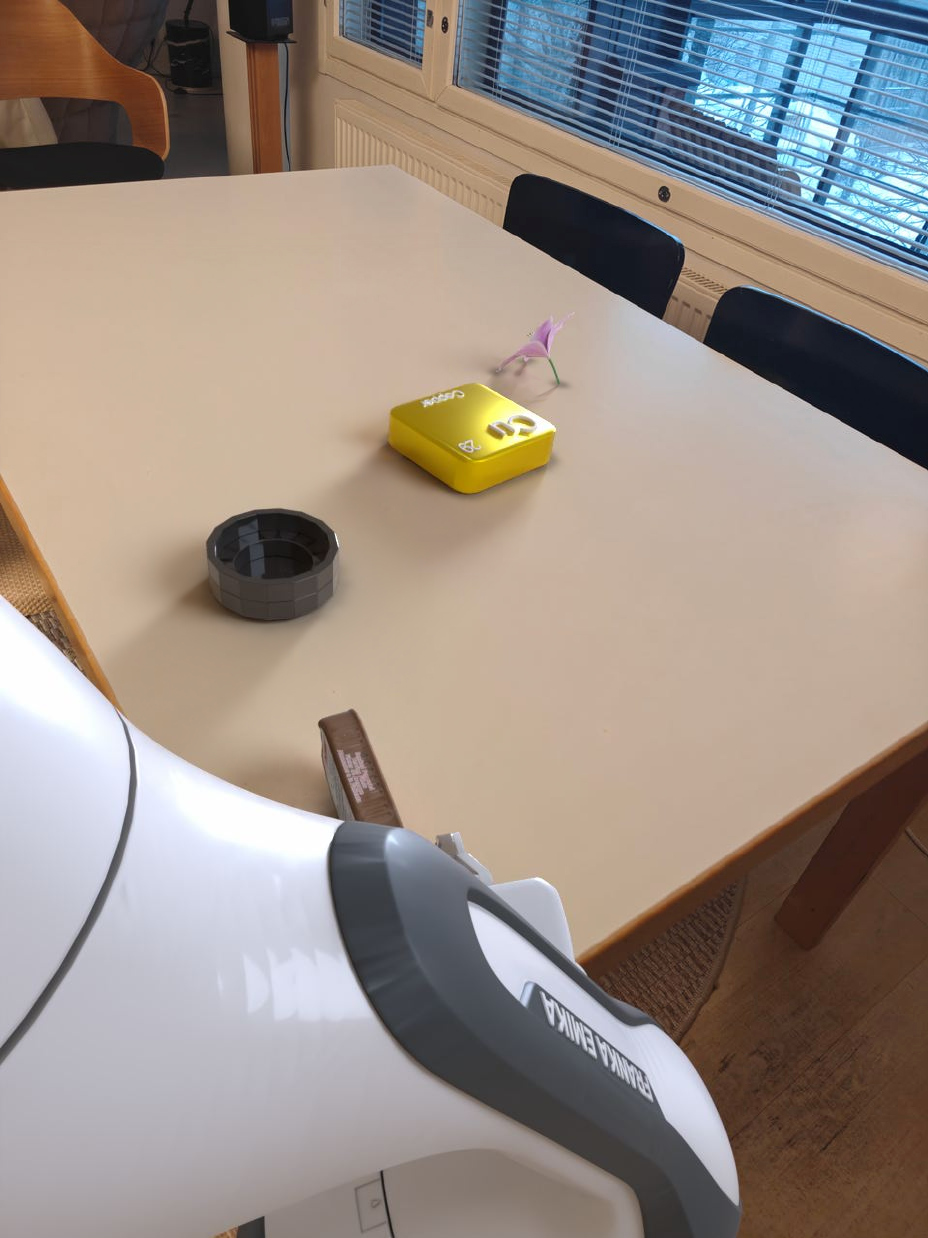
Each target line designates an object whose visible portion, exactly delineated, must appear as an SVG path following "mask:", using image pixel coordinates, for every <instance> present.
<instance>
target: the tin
mask: <svg viewBox="0 0 928 1238" xmlns="http://www.w3.org/2000/svg"><path fill="white" fill-rule="evenodd" d="M317 727H318V728H319V733H320V741H321V742H320V743H321V750H320V751H321V753H320V754H321V755H320V757H321V762H322V768H323V770H324V774H325V779H326V783H327V787H328V790H329V794H330V797H331V800H332V804H333V807H334V810H335V812H336V813H335V814H336V815H337V819H338V820H342V821H350V820H355V821H362V822H368V823H374V824H380V825H386V826H393V827H399V828H405V827H404V823H403V821H402V818H401V816H400V813H399V811H398V808H397V805H396V803H395V800H394V798H393V796H392V793H391V791H390V787H389V785H388V782H387V779H386V778H385V775H384V773H383V771H382V768H381V766H380V763H379V760H378V758H377V756H376V753H375V750H374V748H373V746H372V745H373V744H372V743H371V740H370V739H369V735H368V733H367V730H366V728H365V725H364V723H363V721H362V719H361V717H360V715H359V713H358V712H357V710H356V709H354V708H349V709H348V710H347V711H343V712H340V713H335V714H331V715H328V716H326V717H323V718H321V719H319V720H318V722H317Z"/></svg>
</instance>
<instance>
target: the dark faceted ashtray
mask: <svg viewBox="0 0 928 1238" xmlns="http://www.w3.org/2000/svg"><path fill="white" fill-rule="evenodd" d="M335 532H336V531H334V530H333V529H332V528H331V527H330V526H329V525H328V524H327V523H326V522H325V521H323V520H322V519H320V518H318V517H315V516H314V515H311V514H309V513H306V512H303V511H300V510H294V509H287V508H282V507H275V508H258V509H252V510H249V511H245V512H242V513H238V514H234V515H232V516H230V517H228V518H227V519H226V520H224V521H222V522H221V523H219V524H218V525H217V526H215V527H214V528H213V530H212V531H211V533H210V534H209V536H208V538H207V539H206V541H205V549H206V560H207V562H206V563H207V569H208V578H209V586H210V587H209V588H210V592H211V593H212V595H213V596H214V597H215V598H216V599H217V601H218V602H219V603H220V605H221V606H223V607H224V608H226V609H228V610H230V611H232V612H234V613H236V614H238V615H240V616H242V617H245V618H246V617H247V618H252V619H258V620H264V621H275V620H286V619H294V618H298V617H301V616H304V615H306V614H308V613H311V612H314V611H316V610H318V609H319V608H320V607H322V606H324V604H325V603H327V602H328V601H329V600H330V599H331V598H332V597H334V594H335V592H336V589H337V588H338V587H337V586H338V584H339V579H340V576H339V575H340V546H339V542H338V539H337V535H336V533H335Z"/></svg>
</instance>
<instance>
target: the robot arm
mask: <svg viewBox="0 0 928 1238" xmlns="http://www.w3.org/2000/svg"><path fill="white" fill-rule="evenodd" d="M702 1079H703V1078H701V1076H700V1074H699V1072H698V1071H697V1070H696V1068H695V1066H694V1065H693V1064H692V1061H690V1059H689V1058H688V1056H687V1055H686V1053H684V1052H683V1050H682V1048H680V1047H679V1045H677V1044H676V1043H675V1041H674V1040H673V1039H672V1038H671V1037H670V1036H669V1035H668V1034H667V1033H666V1032H665V1031H664V1029H663V1028H662V1026H661V1025H660V1024H659V1022H657V1020H655V1018H654V1017H652V1016H651V1015H649V1014H647V1013H646V1012H644V1011H642V1010H640V1009H639V1008H636V1007H635V1006H632V1005H631V1004H629V1003H626V1002H625V1001H621V1000H619V999H617V998H614V997H613V996H610V995H609V993H607V992H605V990H603V988H601V987H600V986H599V985H598V984H597V983H596V982H595V981H593V980H592V979H591V978H590V977H589V976H588V975H587V972H586V971H585V969H584V968H583V967H582V966H581V965H580V964H579V963H578V962H576V960H575V952H574V947H573V941H572V937H571V932H570V927H569V924H568V920H567V917H566V914H565V909H564V906H563V903H562V900H561V897H560V894H559V892H558V890H557V889H556V887H555V886H553V885H552V884H550V883H549V882H548V881H546V880H545V879H543V878H541V877H538V876H536V877H529V878H524V879H518V880H512V881H508V882H502V883H499V884H498V883H497V884H495V882H494V878H493V876H492V873H491V871H490V870H489V869H488V868H487V867H485V866H484V864H482V863H481V862H480V861H479V860H477V859H476V858H475V857H474V856H473V855H471V854H470V853H469V852H466V850H465V846H464V843H463V839H462V837H461V834H460V832H459V831H455V832H448V833H442V834H437V835H436V836H435V842H434V843H433V842H432V841H430V840H429V839H427V838H425V837H424V836H422V835H420V834H419V833H417V832H415V831H413V830H411V829H408V828H405V827H404V828H399V827H393V826H386V825H380V824H374V823H368V822H362V821H355V820H350V821H342V820H339V819H338V818H335V817H332V816H331V817H330V816H328V815H323V814H319V813H315V812H312V811H308V810H304V809H300V808H297V807H293V806H291V805H287V804H284V803H281V802H279V801H276V800H273V799H270V798H267V797H265V796H262V795H259V794H256V793H254V792H251V791H250V790H247V789H244V788H242V787H240V786H237V785H235V784H233V783H230V782H228V781H227V780H224V779H222V778H220V777H218V776H216V775H214V774H212V773H210V772H207V771H206V770H204V769H201V768H199V767H198V766H196V765H194V764H192V763H191V762H189V761H187V760H186V759H184V758H182V757H180V756H178V755H176V754H175V753H173V752H171V751H170V750H168V749H167V748H165V747H164V746H162V745H161V744H160V743H158V742H156V741H155V740H153V739H152V738H151V737H149V736H148V735H147V734H145V733H144V732H143V731H141V730H140V729H139V728H138V727H137V726H135V725H134V724H133V723H132V722H131V721H129V719H128V718H126V717H125V715H123V713H122V712H121V711H120V710H118V708H117V707H116V706H115V705H114V704H113V703H112V702H111V701H110V700H109V699H108V698H106V696H105V695H104V694H103V693H102V692H101V691H100V690H99V689H98V688H97V687H96V686H95V685H94V683H92V682H91V681H90V680H89V678H87V676H85V674H83V672H82V671H81V670H80V669H78V668H77V666H76V665H75V664H73V662H72V661H71V660H70V659H69V658H68V657H67V656H66V655H65V654H64V653H63V652H62V651H61V650H60V649H59V648H58V647H57V646H56V645H55V644H54V643H53V642H52V641H51V640H50V639H49V638H48V637H47V636H46V635H45V634H44V633H43V632H42V631H41V630H40V629H38V627H37V626H35V625H34V624H33V623H32V622H31V621H30V620H29V619H28V618H27V617H25V615H24V614H22V613H21V612H20V611H19V610H18V609H17V608H16V607H15V606H14V605H12V603H10V601H9V600H7V599H6V598H5V597H4V596H3V595H2V594H0V1238H213V1237H216V1236H219V1235H221V1234H223V1233H226V1232H228V1231H230V1230H233V1229H235V1228H237V1230H236V1236H235V1237H236V1238H737V1237H738V1234H739V1230H740V1226H741V1222H742V1218H743V1213H744V1210H743V1208H744V1207H743V1202H742V1199H741V1195H740V1186H739V1179H738V1177H739V1176H738V1173H737V1172H738V1171H737V1166H736V1161H735V1157H734V1153H733V1150H732V1147H731V1144H730V1139H729V1137H728V1134H727V1131H726V1129H725V1126H724V1124H723V1123H724V1122H723V1121H722V1117H721V1116H720V1113H719V1112H718V1109H717V1106H716V1104H715V1103H714V1100H713V1098H712V1096H711V1093H710V1092H709V1090H708V1088H707V1087H706V1084H705V1083H704V1081H703V1080H702Z"/></svg>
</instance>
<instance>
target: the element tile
mask: <svg viewBox="0 0 928 1238" xmlns="http://www.w3.org/2000/svg"><path fill="white" fill-rule="evenodd" d="M388 416H389V418H388V435H387V436H388V439H387V441H388V443H389V445H390V447H391V448H393V449H394V450H396V451H397V452H398V453H399V454H401V455H402V456H403V457H406V458H407V459H408V460H410V461H411V462H413V463H414V464H416V465H417V466H418V467H420V468H422V469H423V470H425V471H426V472H427V473H429V474H430V475H432V476H433V477H435V478H436V479H437V480H438V481H439V480H440V481H441V482H442V483H444V484H445V485H446V486H448V487H449V488H451V489H452V490H454V491H456V492H458V493H462V494H469V495H470V494H476V493H480V492H482V491H485V490H487V489H491V487H494V486H497V485H499V484H502V483H505V482H507V481H509V480H511V479H514V478H516V477H519V476H521V475H524V474H526V473H528V472H531V471H534V470H536V469H538V468H541V467H543V466H545V465H546V464H548V463H549V462H550V460H551V456H552V451H553V446H554V441H555V435H556V428H555V426H554V425H552V424H551V422H548V421H547V420H545V419H544V418H542V417H540V416H538V415H536V414H535V413H533V412H531V411H529V410H528V409H526V408H525V407H522V406H521V405H519V404H517V403H516V402H514V401H513V400H510V399H508V398H506V397H505V396H504V395H501V394H500V393H498V392H497V391H495V390H492V389H491V388H490V387H488V386H485V385H483V384H481V383H479V382H471V383H465V384H461V385H459V386H455V387H452V388H448V389H445V390H441V391H439V392H436V393H433V394H430V395H429V394H428V395H425V396H423V397H420V398H416V399H414V400H410V401H407V402H403V403H401V404H398V405H394V406H393V407H392V408H391V409H390V410H389V415H388Z"/></svg>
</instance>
